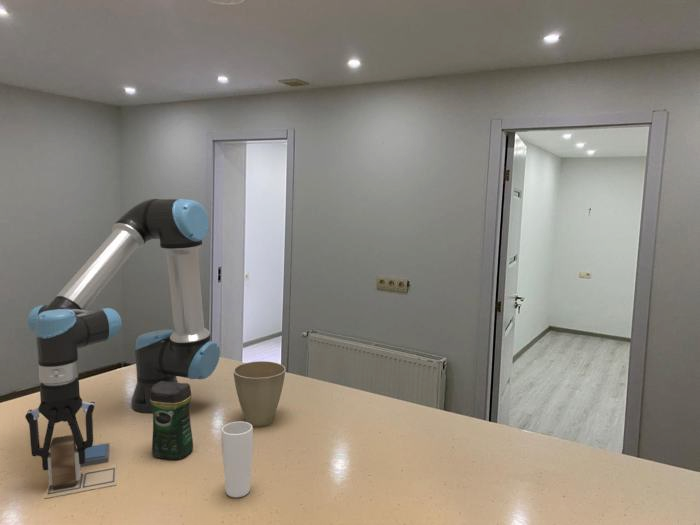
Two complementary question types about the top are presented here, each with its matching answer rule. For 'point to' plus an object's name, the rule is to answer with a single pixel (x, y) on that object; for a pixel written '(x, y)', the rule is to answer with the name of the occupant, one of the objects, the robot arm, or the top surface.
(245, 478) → the drinking glass
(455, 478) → the top surface
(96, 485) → the sheet
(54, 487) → the tall wooden block
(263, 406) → the plant pot
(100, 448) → the ink pad
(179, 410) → the coffee jar
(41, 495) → the top surface
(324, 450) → the top surface
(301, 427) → the top surface
